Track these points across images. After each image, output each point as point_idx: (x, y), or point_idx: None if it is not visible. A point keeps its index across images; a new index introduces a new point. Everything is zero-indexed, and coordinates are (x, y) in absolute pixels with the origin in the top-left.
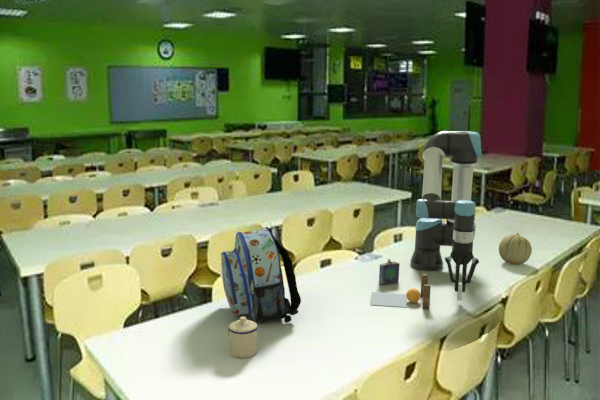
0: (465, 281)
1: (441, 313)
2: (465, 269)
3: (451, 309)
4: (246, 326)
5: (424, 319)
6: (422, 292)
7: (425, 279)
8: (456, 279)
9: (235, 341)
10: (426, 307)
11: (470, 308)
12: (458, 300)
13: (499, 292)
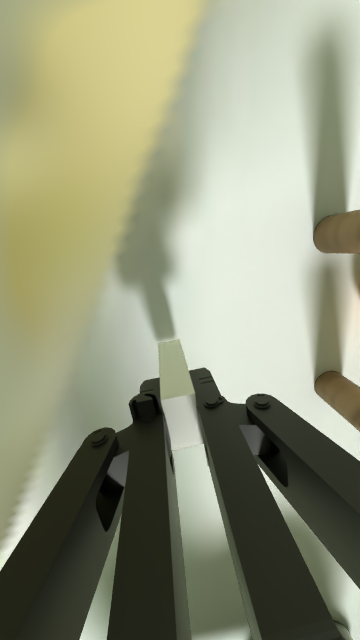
0: (134, 432)
1: (253, 178)
2: (130, 628)
3: (202, 260)
4: None
5: (353, 32)
6: (354, 384)
7: None
8: (229, 423)
9: None
10: (336, 214)
11: (107, 310)
12: (174, 340)
13: (8, 545)
